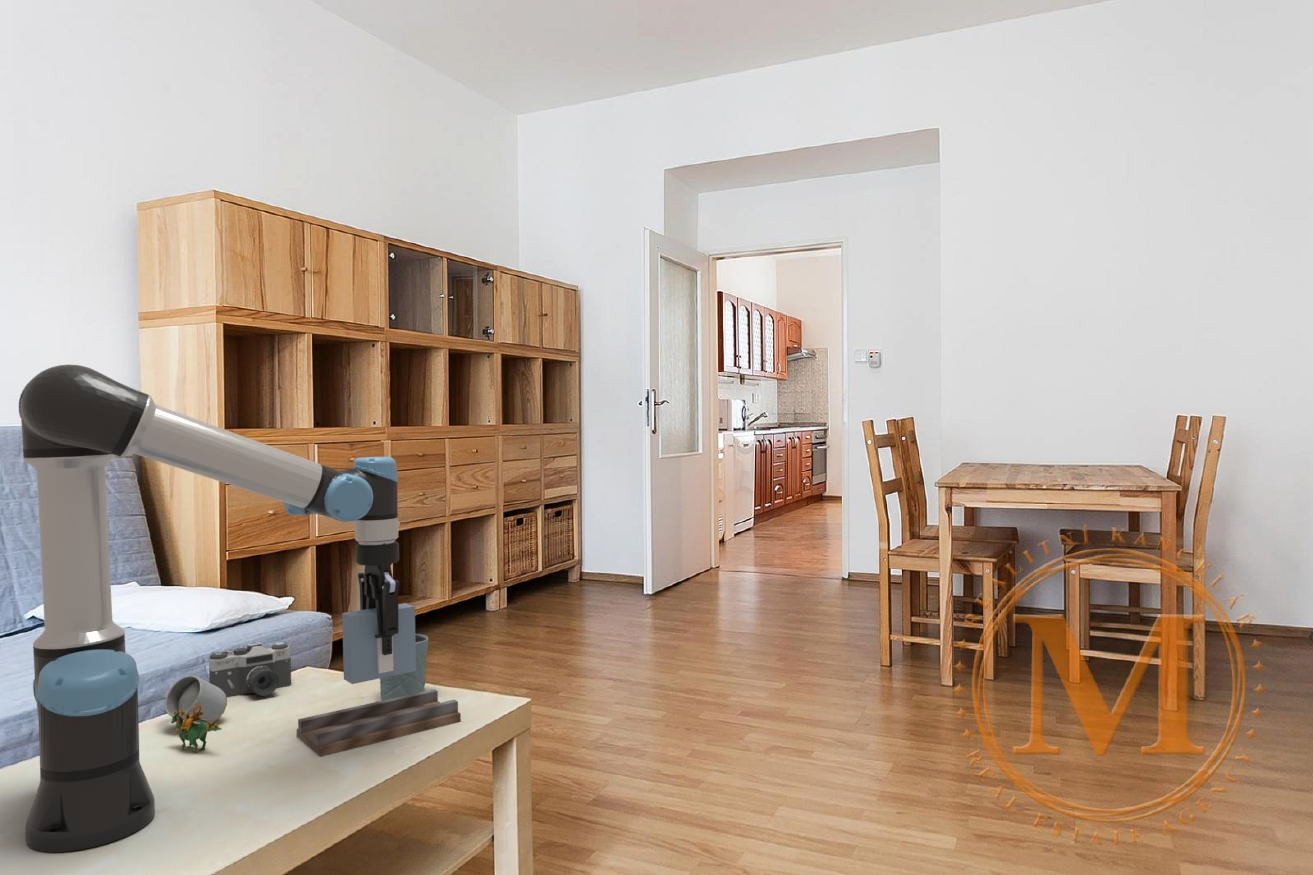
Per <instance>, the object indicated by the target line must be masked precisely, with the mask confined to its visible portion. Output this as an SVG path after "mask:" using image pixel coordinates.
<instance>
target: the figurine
mask: <svg viewBox="0 0 1313 875" xmlns="http://www.w3.org/2000/svg"><path fill="white" fill-rule="evenodd" d="M198 707H199V712H195V710H196V709H197V708H198ZM201 709H202V706H201V705H197V706H195V707H194V709H193V714H192V715H191V716H190V717H189V713H187V714H185V716H186V719H185V720H184V721H183V718H182V717H181V716H183V714H184V713H185V712H184V711H183V709H181V710H180V711H179V712H178V711H175V712H174V716H173V717H171V718H172V720H171V721H170V722H171V724H175V723H176V724H175V725H176V727H175V731H176V732H174V733H172V734H171V735H173V736H176V735H178V738H179V739H180V741H181V742H182V744H181V749H182V750H181V751H184V750H185V749H186V747H187V746H186V745H187V744H186V742H185V741H188V742H189V744H188V748H191V747H192V746H193V747H194V750H193V752H194V753H193V754H198V753H197V752H198V750H200V751H206V746H207V740H206V738H207V736H208V732H217V731H221V730H222V729H223V728H222V727H219V725H218V724H217V723H213V722H211V721H209V720H205V719H201V718H199V716H200V715H203V713H204V712H200V711H201ZM176 712H177V713H176ZM175 713H176V714H175ZM179 714H181V716H179ZM196 714H197V715H196ZM202 721H203V722H202ZM207 721H209V722H208V724H206V723H204V722H207ZM213 724H214V725H213ZM197 740H200V741H201V742H202V746H201V748H198V747H199V745H198V743H197ZM195 752H196V753H195Z"/></svg>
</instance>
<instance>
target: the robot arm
mask: <svg viewBox="0 0 1313 875" xmlns="http://www.w3.org/2000/svg"><path fill="white" fill-rule="evenodd" d="M18 413H19V414H18V415H19V418H20V419H21V422H20V423H21V439H22V453H23V454H22V456H23V457H22V458H23V459H22V460H23V461H25V462H26V463H27V464H29V465H30V466H31V467H32V468H34V470H35V471H36V481H37V501H38V518H39V519H38V520H39V521H38V522H39V540H40V541H39V542H40V560H41V561H40V563H41V579H42V580H41V582H42V602H43V621H44V630H43V632H42V633H41V634H40V635H39V636H38V638H36V639H35V640H34V641H33V642H32V643H33V644H32V646H33V647H32V648H33V650H32V652H33V671H34V672H33V674H34V679H33V682H32V691H33V692H32V693H33V697H34V700H35V701H36V708H37V709H36V710H37V718H38V739H39V740H38V741H39V742H38V743H39V745H38V747H39V767H40V768H39V770H40V771H39V772H40V773H39V774H40V776H39V777H40V779H39V784H38V788H37V790H36V793H35V797H34V799H33V802H32V806H31V808H30V811H29V814H28V817H27V820H26V823H25V843H26V846H28V848H31V849H32V850H35V851H39V852H45V853H46V852H47V853H48V852H49V853H64V852H72V851H73V852H74V851H80V850H85V849H89V848H90V849H92V848H94V847H95V848H96V847H99V846H102V845H106V844H109V843H112V842H115V841H118V840H120V839H123V838H125V837H128V836H131V834H134V833H136V832H137V831H139V830H141V829H142V828H144V827H146V825H148V824H149V823H150V822H151V821H152V820H153V819H154V817H155V814H156V810H155V809H156V807H155V806H156V805H155V804H156V803H155V796H154V793H153V791H152V788H151V786H150V784H149V782H148V779H147V777H146V774H145V771H144V769H143V767H142V765H141V762H140V732H139V731H140V728H139V691H138V690H139V689H138V687H139V684H140V675H139V672H138V668H137V667H138V666H137V662H136V660H135V658H134V657H133V656H132V655H130V654H128V653H127V652H126V636H125V635H126V632H125V629H124V628H123V627H121V626H120V625H118V624H116V623H115V622H114V621H113V608H112V607H113V605H112V604H113V603H112V588H111V586H112V585H111V582H112V581H111V566H110V564H111V562H110V548H109V547H110V545H109V543H110V542H109V526H108V524H109V523H108V522H109V521H108V504H107V503H108V502H107V485H106V484H107V483H106V467H107V465H108V464H109V463H110V462H111V461H112V460H113V459H114V458H115V457H120V458H124V457H127V456H129V455H132V454H133V455H138V456H140V457H144V458H146V459H150V460H153V461H156V462H159V463H162V464H165V465H167V466H172V467H175V468H176V469H181V470H183V471H187V472H190V473H194V474H196V475H199V476H201V477H205V478H207V479H212V480H215V481H217V482H221V483H224V484H228V485H230V486H232V487H233V486H234V487H237V488H239V489H242V490H246V491H249V492H252V493H256V494H258V495H262V496H264V497H267V498H270V499H273V500H276V501H280V502H282V504H283V507H284V510H285V512H286V513H287V514H288V515H290V516H308V515H319V516H321V517H322V516H323V517H327V518H331V519H333V520H336V521H339V522H341V523H346V522H354V540H355V541H356V542H358V543H356V545H355V562H356V564H357V565H359V566H364V569H363V571H364V572H358V573H357V579H358V585H359V608H360V609H359V610H365V609H372V608H376V611H377V621H378V630H379V634H378V635H375V638H377V673H379V674H380V673H385V672H389V671H393V635H394V634H398V631H399V626H398V604H399V591H400V580H399V579H394V576H393V572H392V565H393V564H396V563H398V562H399V560H400V543H399V542H398V541H396V540H397V539H398V538H399V527H400V526H401V522H400V521H399V513H398V512H399V511H398V510H399V509H398V508H399V507H398V506H399V504H398V502H399V500H398V497H399V496H398V492H399V491H398V490H399V488H398V487H399V486H398V484H399V480H398V468H397V463H396V460H395V459H394V458H393V457H389V456H368V457H366V456H365V457H357V458H355V459H354V460H353V465H352V468H348V469H335V468H332V467H329V466H326V465H323V464H321V463H318V462H316V461H312V460H311V459H310V460H309V459H307V458H304V457H302V456H299V455H297V454H294V453H291V452H287V451H284V450H282V449H280V448H277V447H273V446H271V445H268V444H265V443H264V442H263V443H262V442H260V441H257V440H255V439H251V438H249V437H246V436H243V435H241V434H237V433H236V432H235V433H234V432H232V431H229V430H226V429H224V428H221V427H219V426H216V425H213V424H209V423H207V422H205V421H201V420H199V419H196V418H193V417H190V416H188V415H186V414H184V413H183V414H182V413H180V412H177V411H174V410H171V409H168V408H166V407H163V406H160V405H158V404H156V403H155V402H154V399H153V398H152V395H150V394H148V393H145V392H142V391H140V390H137V389H135V388H132V387H130V386H127V385H126V384H124V383H121V382H119V381H117V380H114V379H113V378H111V377H109V376H107V375H106V374H103V373H101V372H99V371H97V370H95V369H93V368H91V367H86V366H83V365H79V364H61V365H60V364H59V365H57V366H51V367H48V368H46V369H44V370H42V371H40V372H39V373H37V374H36V375H35V376H34V377H32V379H31V380H29V381H28V382H27V383H26V385H25V386H24V387H23V389H22V391H21V393H20V397H19V399H18Z"/></svg>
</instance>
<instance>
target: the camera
mask: <svg viewBox="0 0 1313 875" xmlns="http://www.w3.org/2000/svg"><path fill="white" fill-rule="evenodd" d="M290 650H291V648H290V646H289V645H288V644H287V643H285V642H276V643H274V644H272V646H270V647H264V646H262V642H259V641H257V642H256V643H254V644H253V643H252V644H250V643H247V644H246V647H238V648H234V649H233V650H232V647H229V648H228V650H227V651H222V652H221V651H220V652H215V653H212V654H210V655H209V658H208V659H209V660H208V661H209V666H208V667H209V668H208V673H209V680H208V682H209V683H211V684H213V685H215V686H217V687H218V688H220V689H221V690H222V691H223V692H224V693H225V694H226V697H227V698H230V697H236V696H242V695H243V696H244V695H249V694H256V695H257V696H260V697H265V696H269V695H271V694H272V693H274V692H275V691H276V690H277V689H281V688H286V687H290V686H292V658H291V656H290V655H291V654H290V652H291V651H290Z"/></svg>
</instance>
